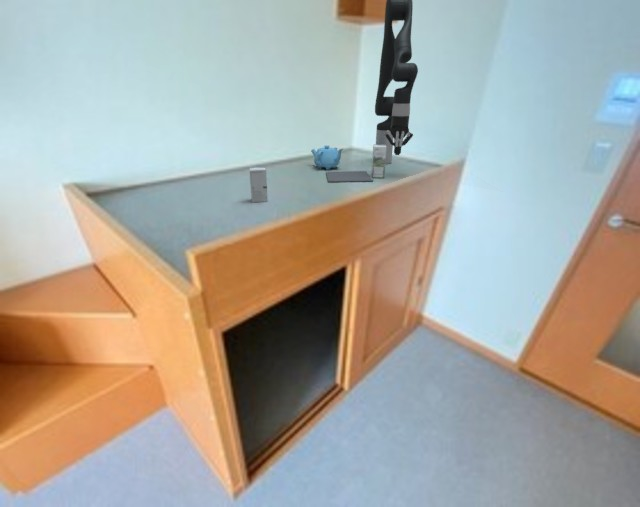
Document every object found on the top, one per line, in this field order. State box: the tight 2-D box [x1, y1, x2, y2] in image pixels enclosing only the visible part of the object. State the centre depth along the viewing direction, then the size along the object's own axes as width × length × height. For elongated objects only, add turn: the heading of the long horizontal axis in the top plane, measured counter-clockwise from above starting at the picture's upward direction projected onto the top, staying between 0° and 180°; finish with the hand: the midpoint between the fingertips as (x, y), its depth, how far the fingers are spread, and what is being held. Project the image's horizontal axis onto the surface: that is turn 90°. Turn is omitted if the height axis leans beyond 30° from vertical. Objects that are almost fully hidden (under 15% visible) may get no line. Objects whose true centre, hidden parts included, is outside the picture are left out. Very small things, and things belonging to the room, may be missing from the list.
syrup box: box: [371, 143, 387, 179], centre depth 162 cm, size 6×6×14 cm
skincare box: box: [248, 166, 269, 203], centre depth 131 cm, size 6×4×12 cm
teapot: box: [310, 144, 344, 171], centre depth 180 cm, size 15×14×11 cm
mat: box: [325, 170, 374, 184], centre depth 165 cm, size 18×20×1 cm
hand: (397, 154), depth 161 cm, fingers closed
